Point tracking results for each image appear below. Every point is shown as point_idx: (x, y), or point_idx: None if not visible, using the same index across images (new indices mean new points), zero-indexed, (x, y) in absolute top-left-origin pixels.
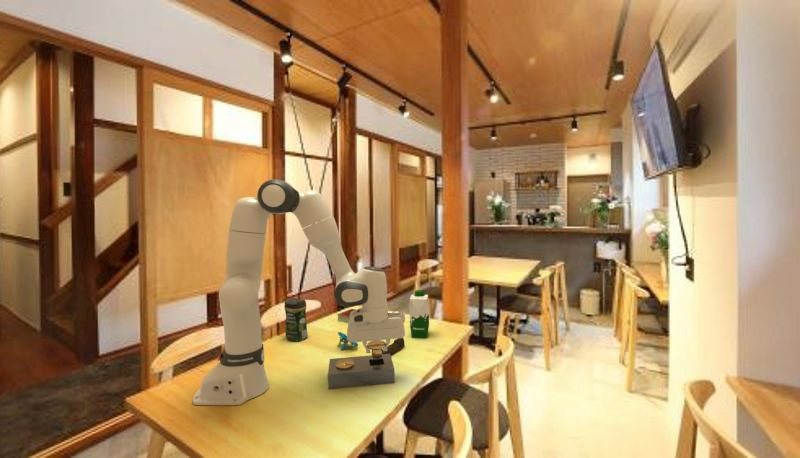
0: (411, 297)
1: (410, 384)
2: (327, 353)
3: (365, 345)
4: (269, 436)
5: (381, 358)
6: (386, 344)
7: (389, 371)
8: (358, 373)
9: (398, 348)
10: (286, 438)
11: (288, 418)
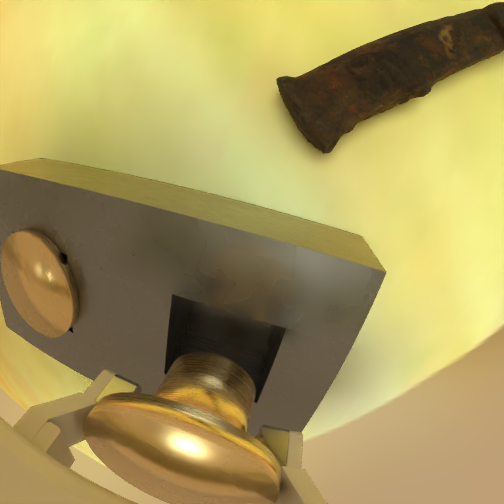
0: None
1: (345, 419)
2: None
3: (72, 441)
4: (8, 382)
5: (274, 323)
6: (277, 501)
7: None
8: None
9: (490, 56)
10: (30, 404)
11: (10, 359)
